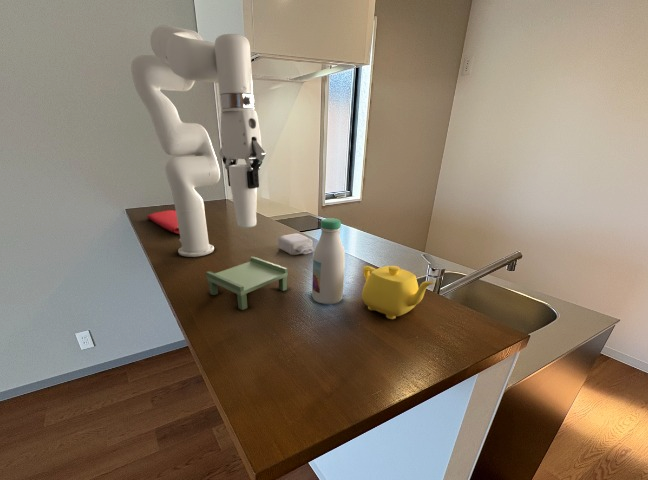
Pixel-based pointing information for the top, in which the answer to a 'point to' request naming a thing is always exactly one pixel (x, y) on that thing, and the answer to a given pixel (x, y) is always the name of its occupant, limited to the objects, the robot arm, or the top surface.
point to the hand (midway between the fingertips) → (243, 186)
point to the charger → (295, 244)
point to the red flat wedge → (166, 220)
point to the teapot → (392, 290)
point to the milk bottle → (328, 264)
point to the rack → (248, 278)
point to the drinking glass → (243, 196)
